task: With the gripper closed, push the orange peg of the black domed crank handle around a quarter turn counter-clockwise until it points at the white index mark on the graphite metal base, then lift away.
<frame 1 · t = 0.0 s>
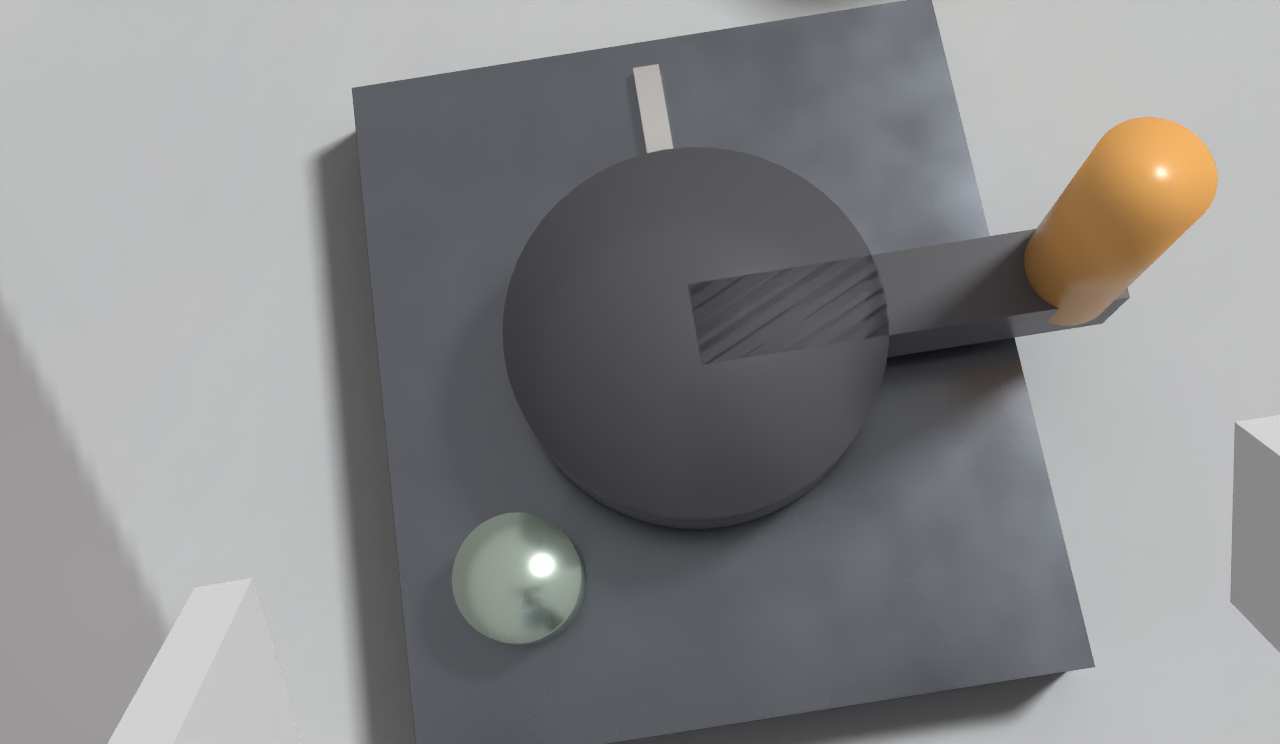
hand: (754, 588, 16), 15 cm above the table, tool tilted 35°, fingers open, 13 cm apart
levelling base: (694, 375, 33), on the table
domed crank handle: (821, 283, 27), point 6 cm above the table, hinge at 0.0°
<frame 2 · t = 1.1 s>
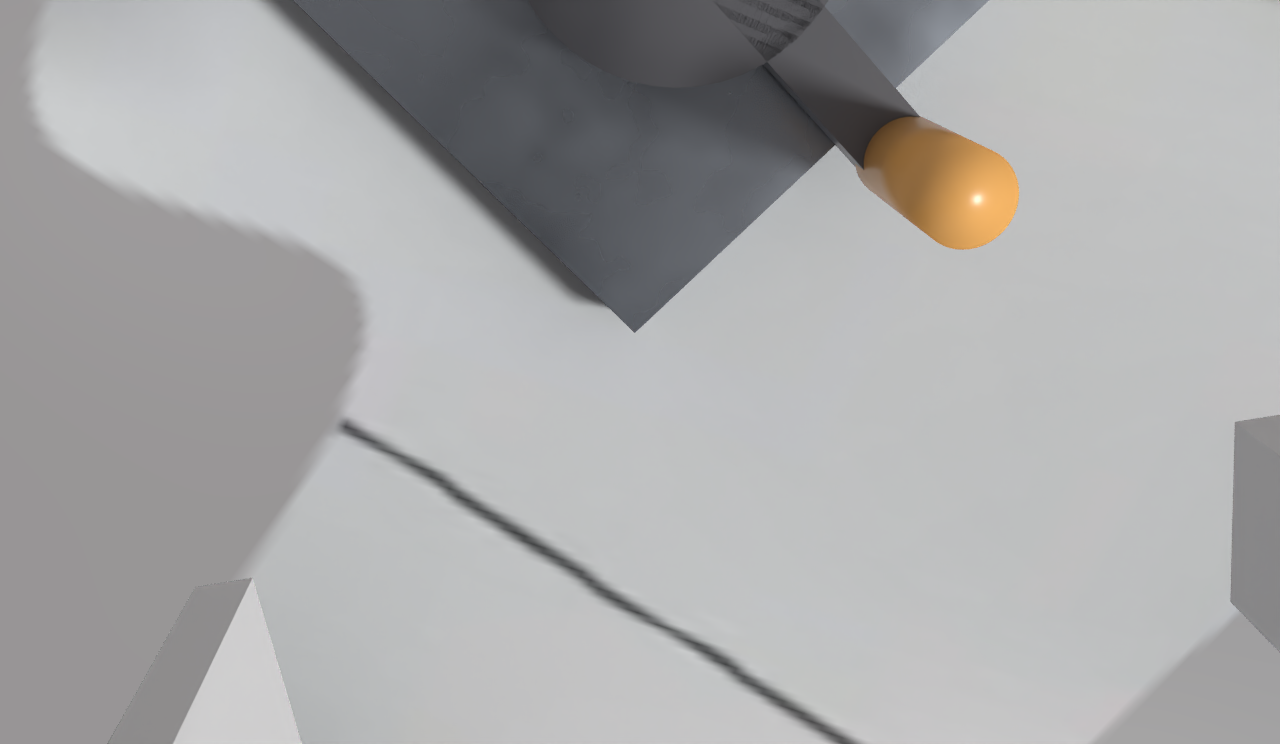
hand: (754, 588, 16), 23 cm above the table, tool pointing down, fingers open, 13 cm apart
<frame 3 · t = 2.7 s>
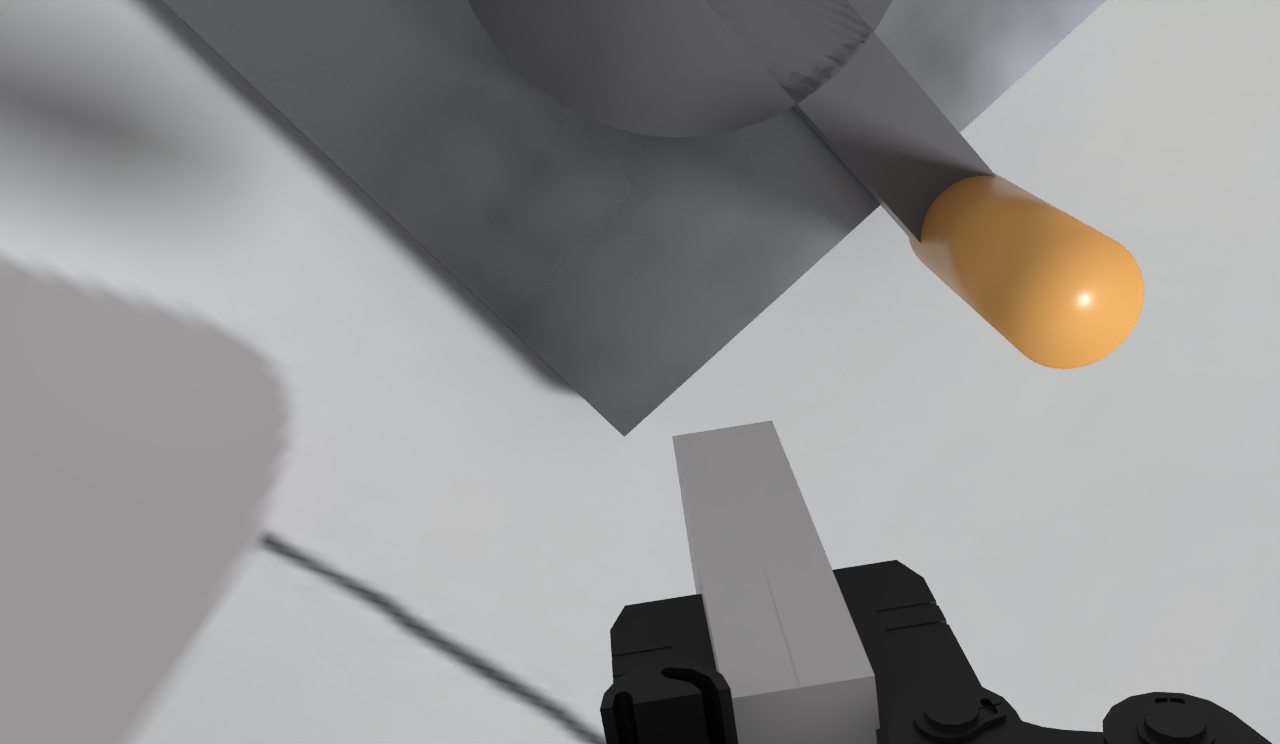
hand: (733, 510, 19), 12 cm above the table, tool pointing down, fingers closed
domed crank handle: (798, 14, 22), point 6 cm above the table, hinge at 0.0°
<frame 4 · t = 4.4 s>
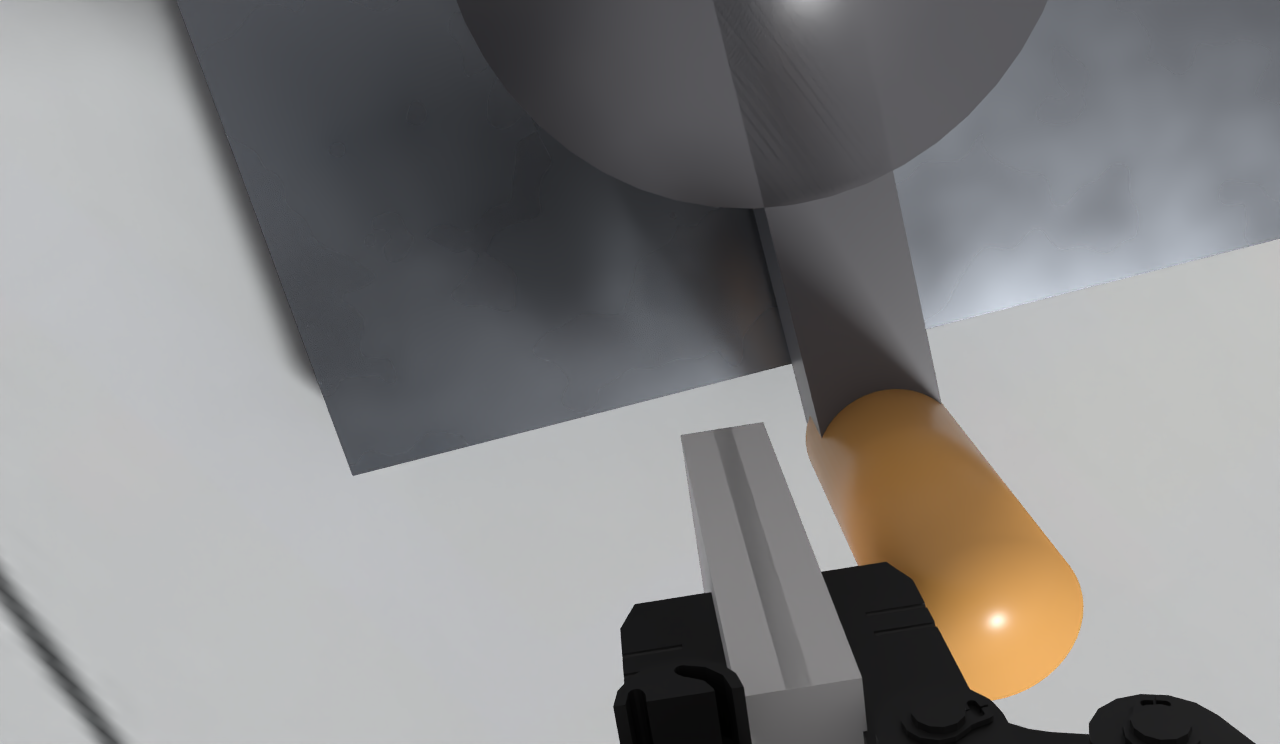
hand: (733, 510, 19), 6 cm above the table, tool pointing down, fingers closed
domed crank handle: (826, 104, 17), point 6 cm above the table, hinge at 1.6°, touching gripper
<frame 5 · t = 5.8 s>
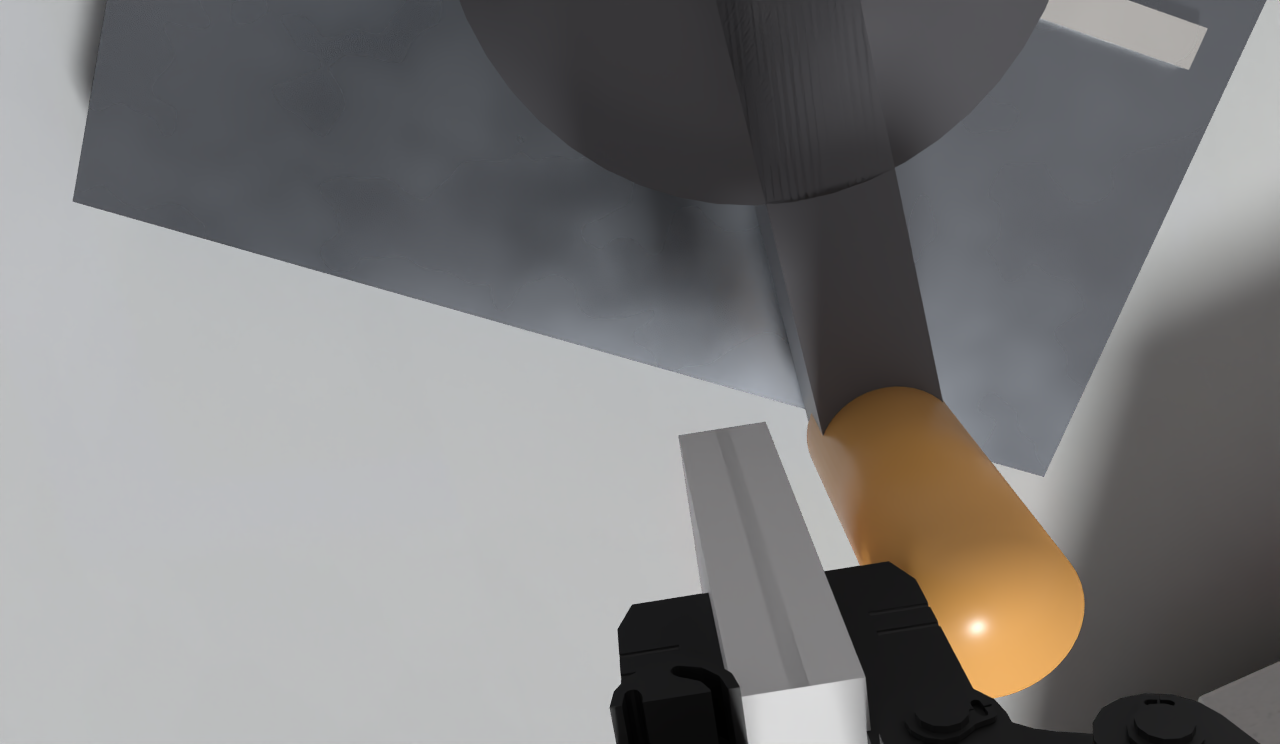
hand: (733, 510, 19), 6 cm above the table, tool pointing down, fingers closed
domed crank handle: (828, 100, 17), point 6 cm above the table, hinge at 33.4°, touching gripper
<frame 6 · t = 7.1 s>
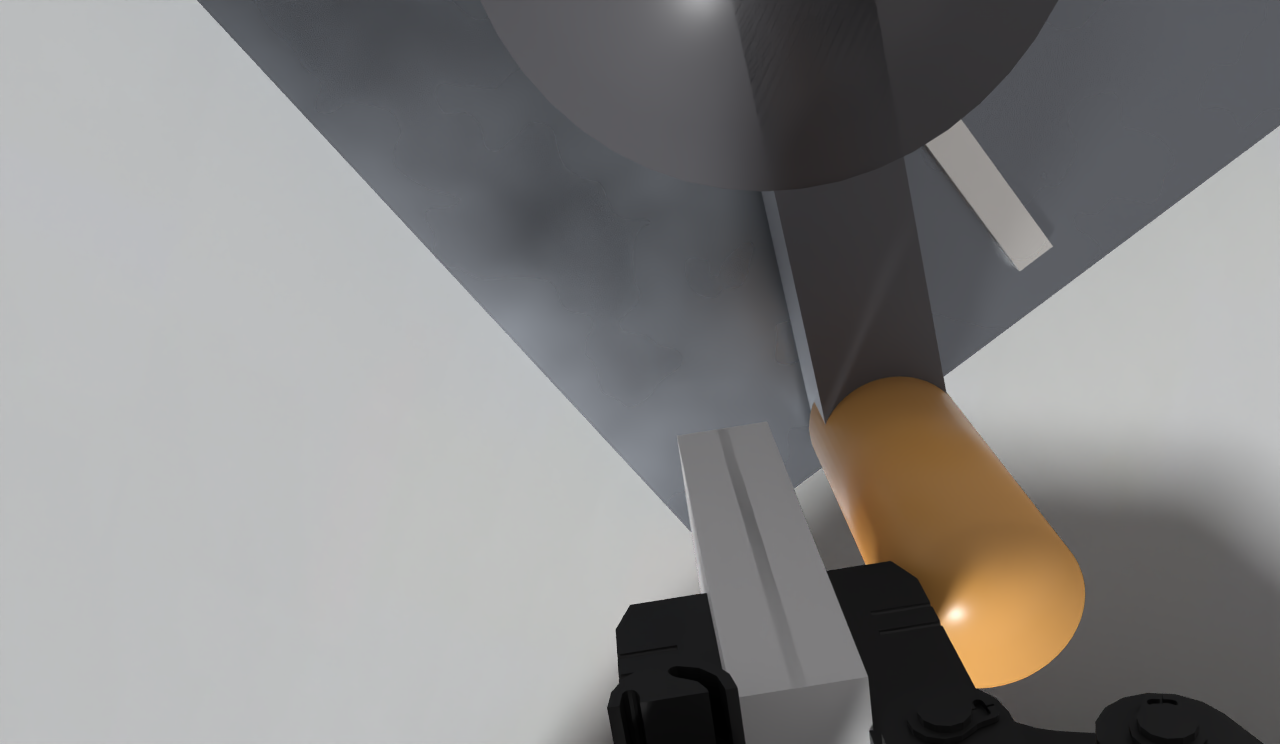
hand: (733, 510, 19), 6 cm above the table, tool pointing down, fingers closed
domed crank handle: (839, 86, 16), point 6 cm above the table, hinge at 64.9°, touching gripper
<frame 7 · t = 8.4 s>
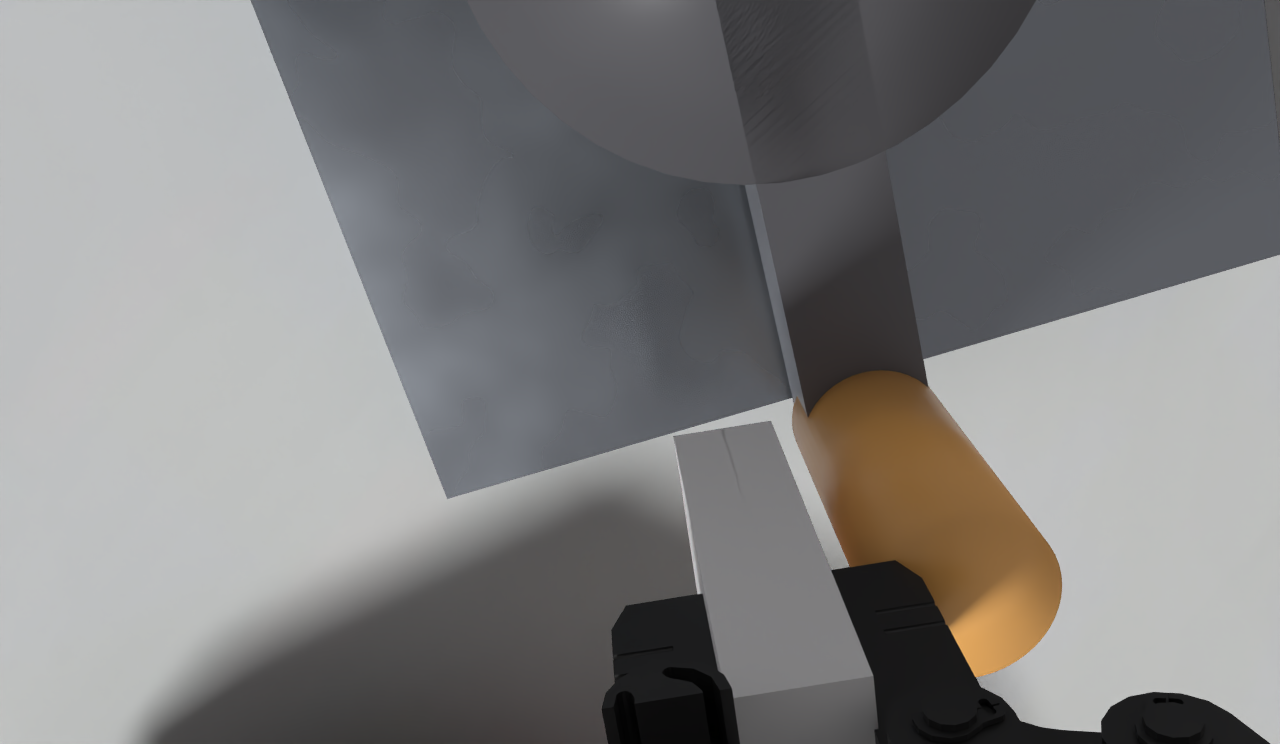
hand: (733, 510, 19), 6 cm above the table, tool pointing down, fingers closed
domed crank handle: (819, 79, 17), point 6 cm above the table, hinge at 87.7°
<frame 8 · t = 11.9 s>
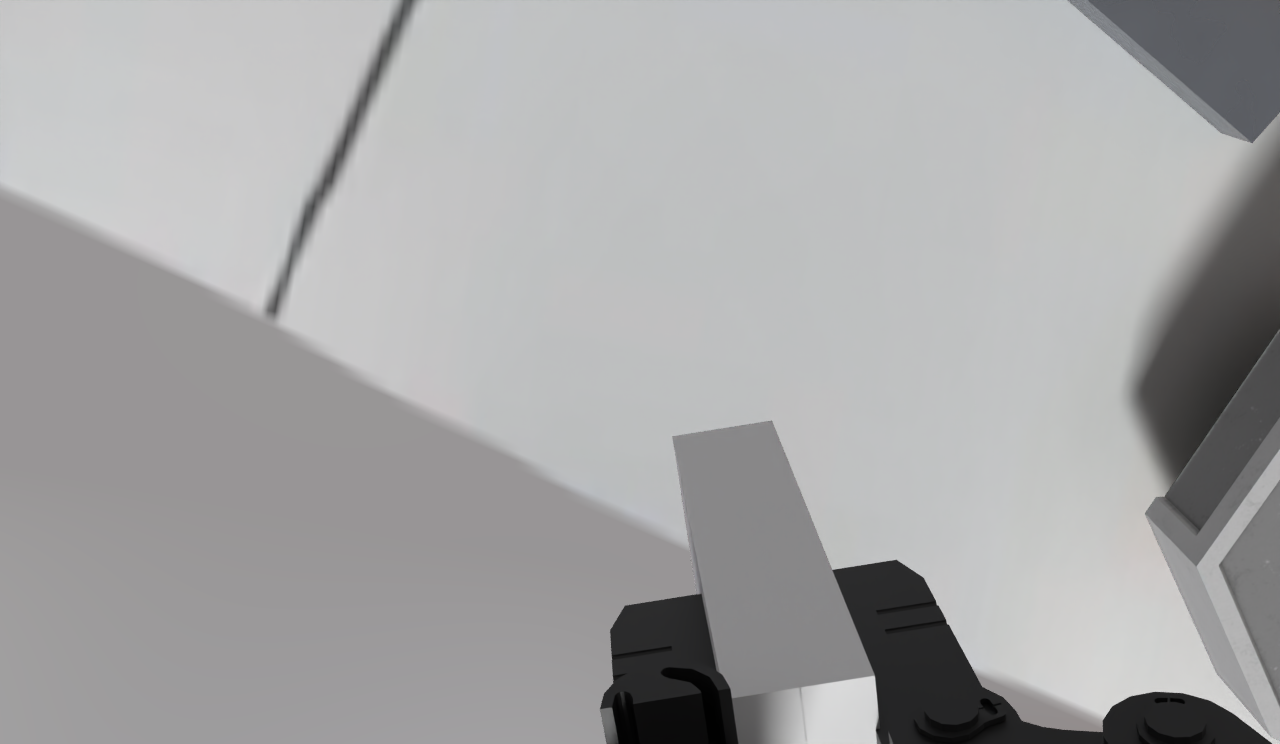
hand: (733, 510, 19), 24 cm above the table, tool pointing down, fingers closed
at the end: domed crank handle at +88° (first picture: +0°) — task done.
